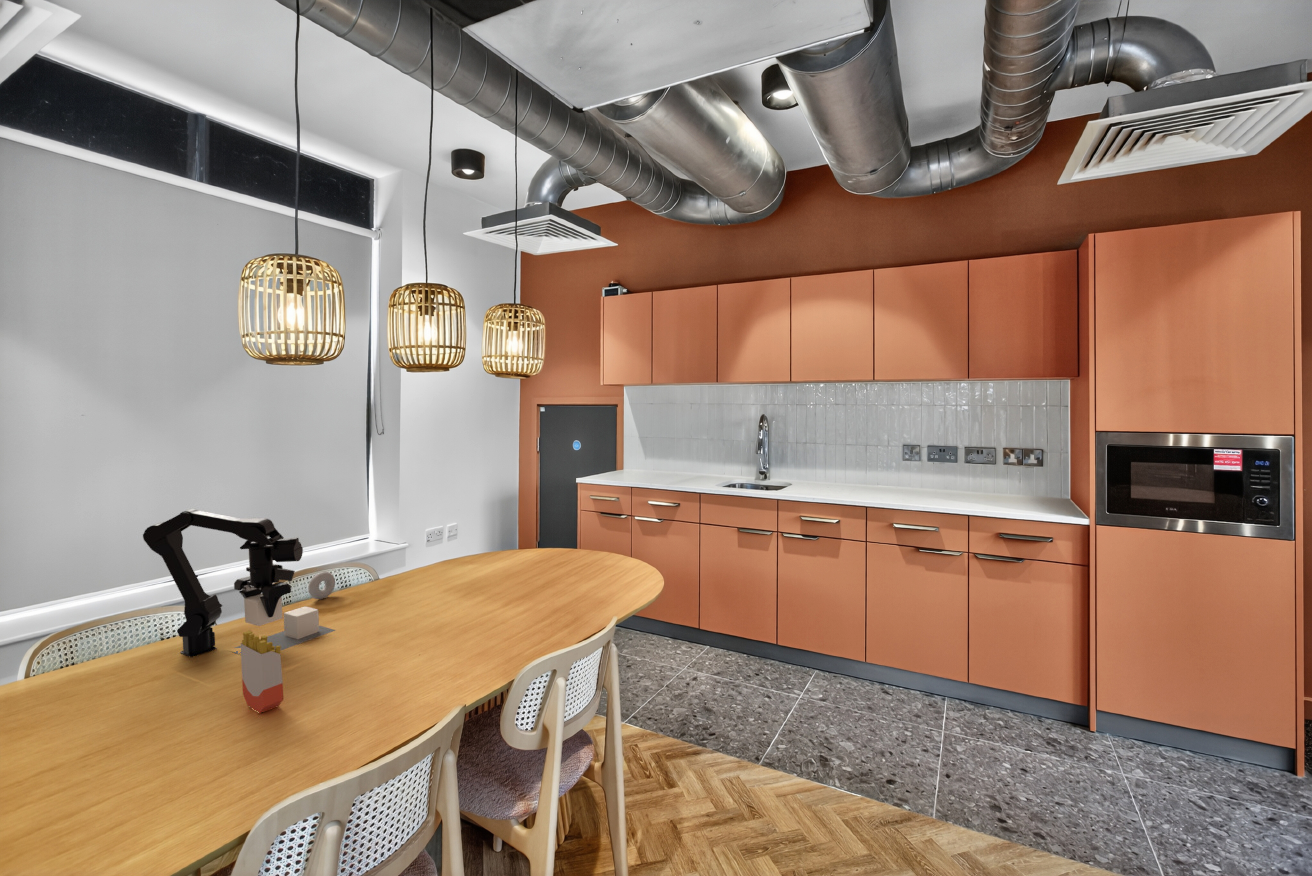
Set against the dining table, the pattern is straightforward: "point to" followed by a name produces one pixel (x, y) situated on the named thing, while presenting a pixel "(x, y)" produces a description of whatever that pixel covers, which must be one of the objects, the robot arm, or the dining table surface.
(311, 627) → the closed white box
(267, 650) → the french fries container
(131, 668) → the dining table surface
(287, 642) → the mat
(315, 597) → the donut
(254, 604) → the white cube
